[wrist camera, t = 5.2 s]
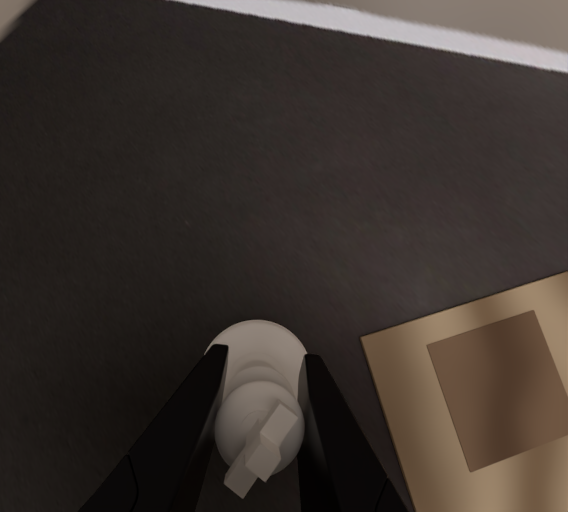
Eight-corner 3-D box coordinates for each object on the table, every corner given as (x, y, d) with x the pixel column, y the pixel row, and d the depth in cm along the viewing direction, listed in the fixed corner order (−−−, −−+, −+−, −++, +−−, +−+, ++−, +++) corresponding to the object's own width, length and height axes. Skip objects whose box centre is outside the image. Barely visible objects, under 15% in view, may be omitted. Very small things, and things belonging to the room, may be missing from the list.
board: (470, 686, 18) (476, 696, 18) (358, 337, 21) (361, 337, 20) (694, 580, 20) (705, 586, 20) (567, 270, 23) (574, 269, 22)
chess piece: (174, 390, 15) (42, 503, 6) (246, 297, 16) (238, 259, 7) (266, 462, 15) (293, 709, 5) (333, 364, 16) (457, 425, 6)
